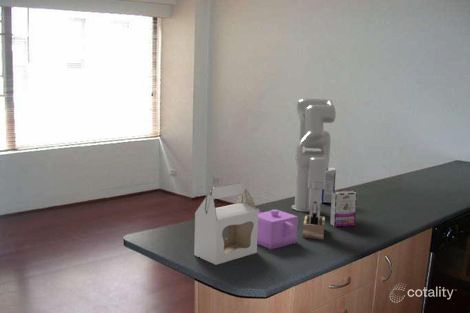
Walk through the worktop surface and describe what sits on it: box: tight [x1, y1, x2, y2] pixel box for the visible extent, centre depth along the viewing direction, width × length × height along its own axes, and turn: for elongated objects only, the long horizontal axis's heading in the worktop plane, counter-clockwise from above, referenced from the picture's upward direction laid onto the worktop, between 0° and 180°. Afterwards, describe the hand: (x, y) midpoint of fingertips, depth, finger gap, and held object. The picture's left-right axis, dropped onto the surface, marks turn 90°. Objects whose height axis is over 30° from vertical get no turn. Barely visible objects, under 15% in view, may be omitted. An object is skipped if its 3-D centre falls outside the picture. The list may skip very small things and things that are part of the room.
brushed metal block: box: [308, 209, 321, 225], centre depth 233 cm, size 4×4×9 cm
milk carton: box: [321, 166, 337, 205], centre depth 288 cm, size 7×7×20 cm
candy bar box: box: [329, 190, 358, 228], centre depth 247 cm, size 11×5×16 cm, turn 105°
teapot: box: [257, 208, 299, 250], centre depth 220 cm, size 15×25×14 cm, turn 39°
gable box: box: [193, 182, 259, 266], centre depth 202 cm, size 22×13×28 cm, turn 133°
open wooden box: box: [302, 214, 326, 240], centre depth 233 cm, size 15×9×6 cm, turn 169°
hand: (314, 223), depth 233 cm, fingers closed on brushed metal block, 4 cm apart
